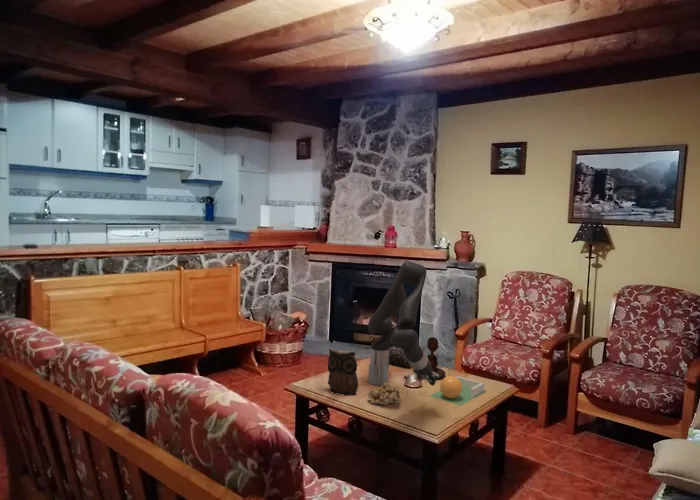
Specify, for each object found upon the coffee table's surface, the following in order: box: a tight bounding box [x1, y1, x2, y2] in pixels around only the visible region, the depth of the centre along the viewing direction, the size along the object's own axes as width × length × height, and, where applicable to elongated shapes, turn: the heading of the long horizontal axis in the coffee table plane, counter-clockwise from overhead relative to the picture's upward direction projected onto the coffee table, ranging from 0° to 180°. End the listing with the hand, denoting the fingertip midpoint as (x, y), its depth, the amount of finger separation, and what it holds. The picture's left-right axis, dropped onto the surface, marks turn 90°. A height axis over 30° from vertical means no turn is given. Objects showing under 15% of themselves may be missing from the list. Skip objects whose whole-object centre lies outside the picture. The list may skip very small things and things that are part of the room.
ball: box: [439, 375, 462, 399], centre depth 237 cm, size 10×10×10 cm
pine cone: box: [389, 345, 412, 370], centre depth 285 cm, size 10×18×10 cm, turn 56°
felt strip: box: [429, 386, 487, 407], centre depth 243 cm, size 26×16×1 cm, turn 140°
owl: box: [327, 348, 359, 396], centre depth 239 cm, size 13×13×20 cm
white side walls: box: [455, 375, 485, 398], centre depth 248 cm, size 12×14×4 cm
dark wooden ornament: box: [426, 336, 446, 381], centre depth 267 cm, size 15×15×20 cm
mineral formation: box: [366, 382, 402, 407], centre depth 228 cm, size 8×13×15 cm
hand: (433, 383), depth 224 cm, fingers closed
